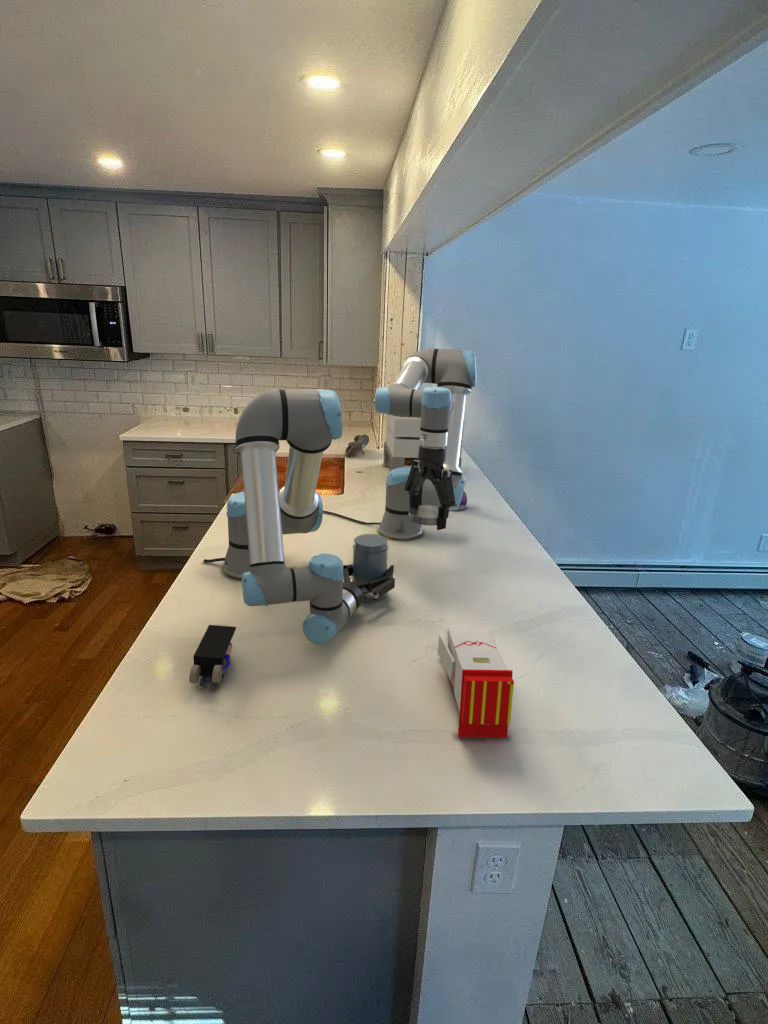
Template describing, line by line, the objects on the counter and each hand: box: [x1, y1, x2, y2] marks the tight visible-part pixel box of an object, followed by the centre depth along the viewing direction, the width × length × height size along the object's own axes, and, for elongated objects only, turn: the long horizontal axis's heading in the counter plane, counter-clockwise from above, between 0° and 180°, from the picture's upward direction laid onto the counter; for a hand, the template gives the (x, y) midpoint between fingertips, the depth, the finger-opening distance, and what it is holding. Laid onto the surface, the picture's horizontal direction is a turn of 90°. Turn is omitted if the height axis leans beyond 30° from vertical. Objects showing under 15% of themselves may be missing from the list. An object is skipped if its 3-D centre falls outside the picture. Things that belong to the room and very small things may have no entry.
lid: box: [408, 505, 448, 527], centre depth 159 cm, size 11×11×2 cm
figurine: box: [455, 490, 468, 511], centre depth 227 cm, size 9×10×15 cm
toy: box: [437, 628, 515, 738], centre depth 117 cm, size 12×13×30 cm
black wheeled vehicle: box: [188, 624, 237, 689], centre depth 120 cm, size 7×8×15 cm
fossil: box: [344, 433, 370, 458], centre depth 304 cm, size 22×10×15 cm
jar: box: [351, 533, 389, 603], centre depth 155 cm, size 10×10×16 cm
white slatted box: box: [383, 414, 465, 472], centre depth 268 cm, size 34×33×41 cm
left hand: (375, 566), depth 159 cm, fingers closed on jar, 9 cm apart
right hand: (427, 522), depth 160 cm, fingers closed on lid, 11 cm apart
